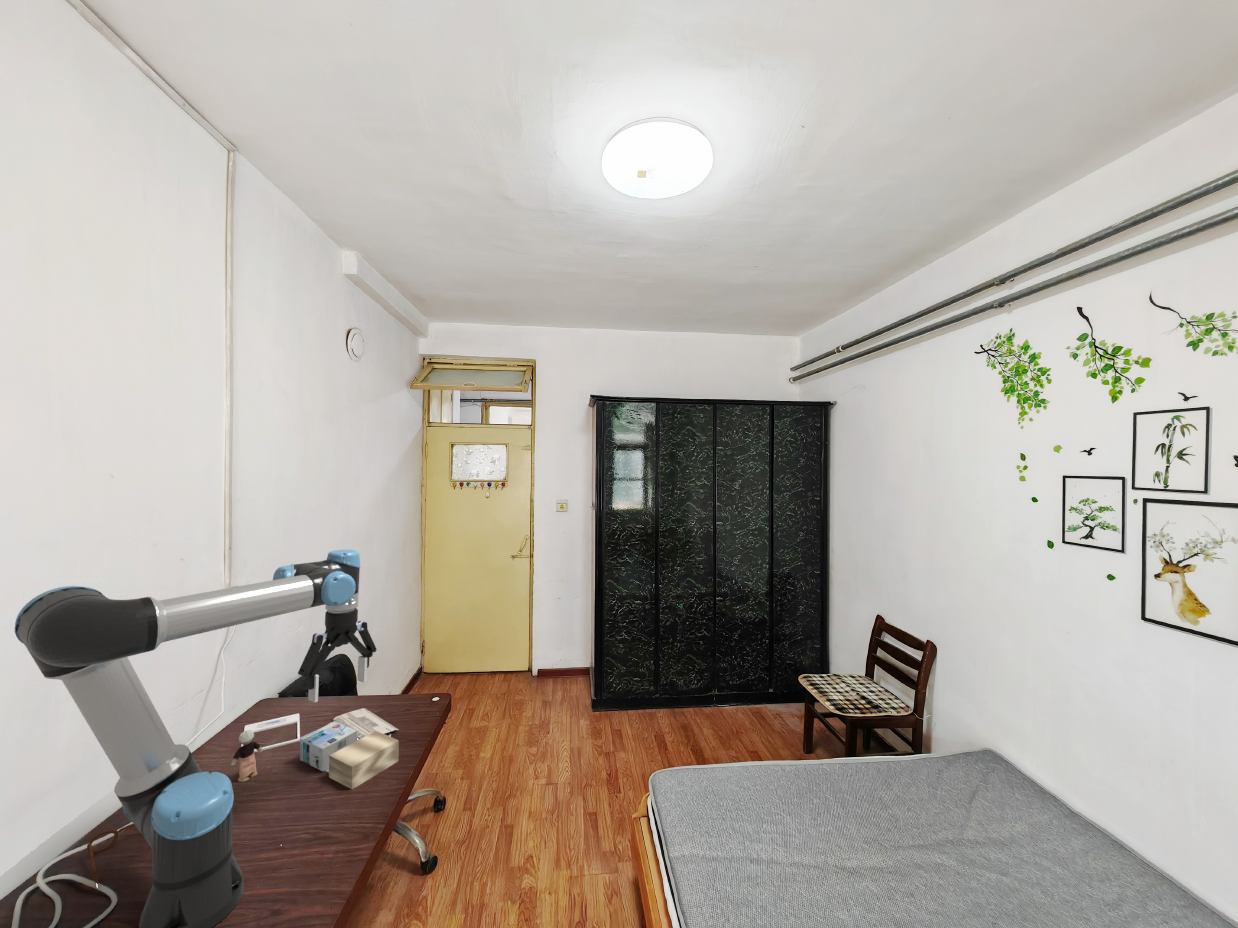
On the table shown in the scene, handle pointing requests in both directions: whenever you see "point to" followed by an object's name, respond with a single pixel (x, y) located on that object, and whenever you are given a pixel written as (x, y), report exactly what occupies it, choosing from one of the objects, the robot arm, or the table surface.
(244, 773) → the grandmother figurine
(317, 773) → the table surface
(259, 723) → the photo frame
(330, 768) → the beech step
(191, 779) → the robot arm
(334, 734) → the light bulb box
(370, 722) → the newspaper
